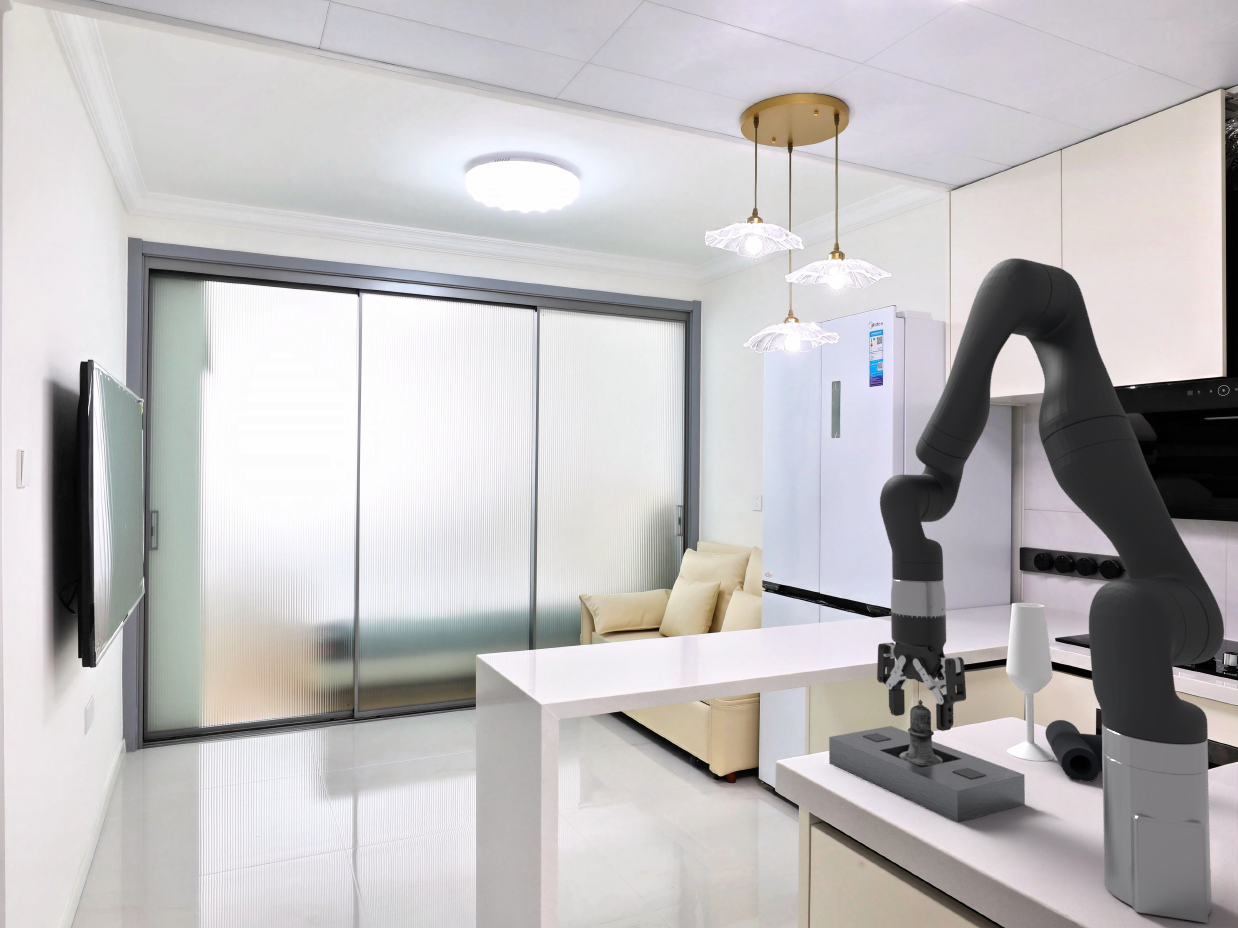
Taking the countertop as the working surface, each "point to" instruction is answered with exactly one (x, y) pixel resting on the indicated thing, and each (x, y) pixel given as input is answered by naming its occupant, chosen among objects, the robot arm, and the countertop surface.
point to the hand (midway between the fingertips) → (919, 721)
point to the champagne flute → (1029, 668)
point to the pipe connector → (1075, 750)
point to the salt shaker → (920, 738)
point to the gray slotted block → (929, 774)
